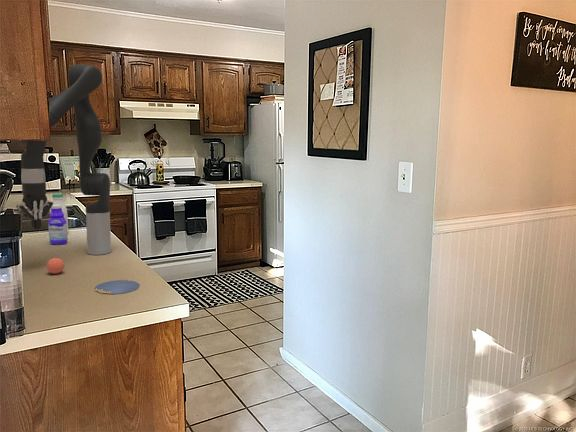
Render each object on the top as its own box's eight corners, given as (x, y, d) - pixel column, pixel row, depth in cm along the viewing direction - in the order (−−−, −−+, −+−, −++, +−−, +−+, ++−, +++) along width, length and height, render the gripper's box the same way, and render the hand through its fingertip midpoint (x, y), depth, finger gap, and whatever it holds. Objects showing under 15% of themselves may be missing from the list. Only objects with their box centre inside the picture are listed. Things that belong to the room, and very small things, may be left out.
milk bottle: (63, 232, 236) (61, 192, 232) (71, 234, 231) (69, 193, 228) (48, 234, 230) (45, 193, 227) (55, 237, 225) (53, 195, 222)
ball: (48, 271, 171) (47, 256, 170) (65, 270, 173) (64, 255, 172) (45, 276, 166) (44, 260, 165) (63, 275, 167) (62, 259, 167)
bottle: (48, 245, 209) (46, 206, 206) (51, 242, 214) (48, 204, 211) (66, 244, 211) (64, 206, 208) (68, 242, 216) (66, 204, 213)
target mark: (95, 282, 161) (95, 281, 161) (139, 279, 165) (139, 279, 165) (92, 296, 147) (92, 295, 147) (140, 292, 152) (140, 291, 152)
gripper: (21, 183, 161) (25, 233, 164) (57, 180, 172) (60, 227, 175) (8, 181, 164) (12, 230, 167) (44, 179, 176) (47, 225, 179)
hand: (36, 229), depth 171 cm, fingers closed
